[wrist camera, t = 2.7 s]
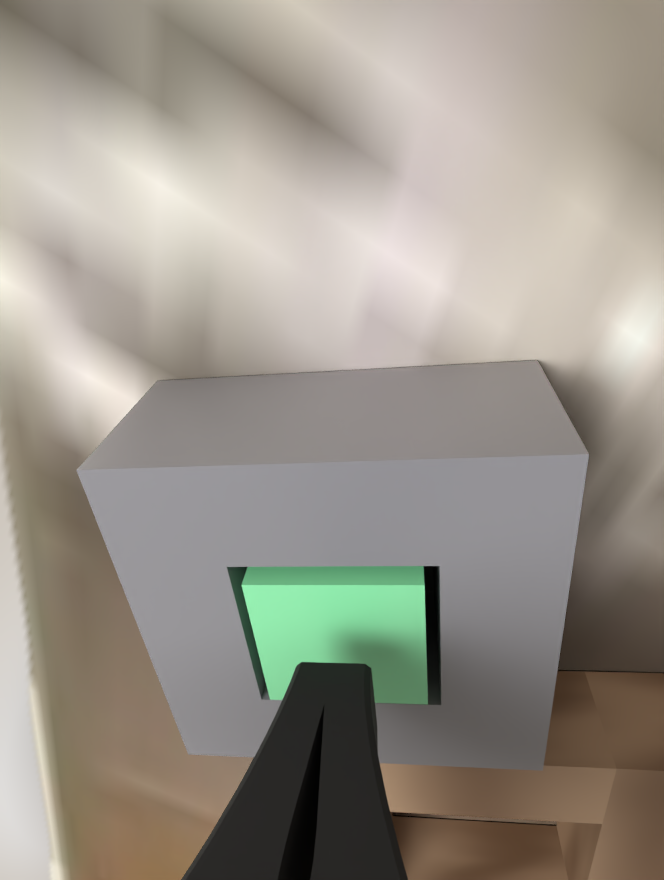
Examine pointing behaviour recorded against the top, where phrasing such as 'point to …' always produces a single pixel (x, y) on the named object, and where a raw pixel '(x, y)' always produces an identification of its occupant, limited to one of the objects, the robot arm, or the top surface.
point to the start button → (342, 624)
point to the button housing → (352, 539)
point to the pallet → (549, 795)
